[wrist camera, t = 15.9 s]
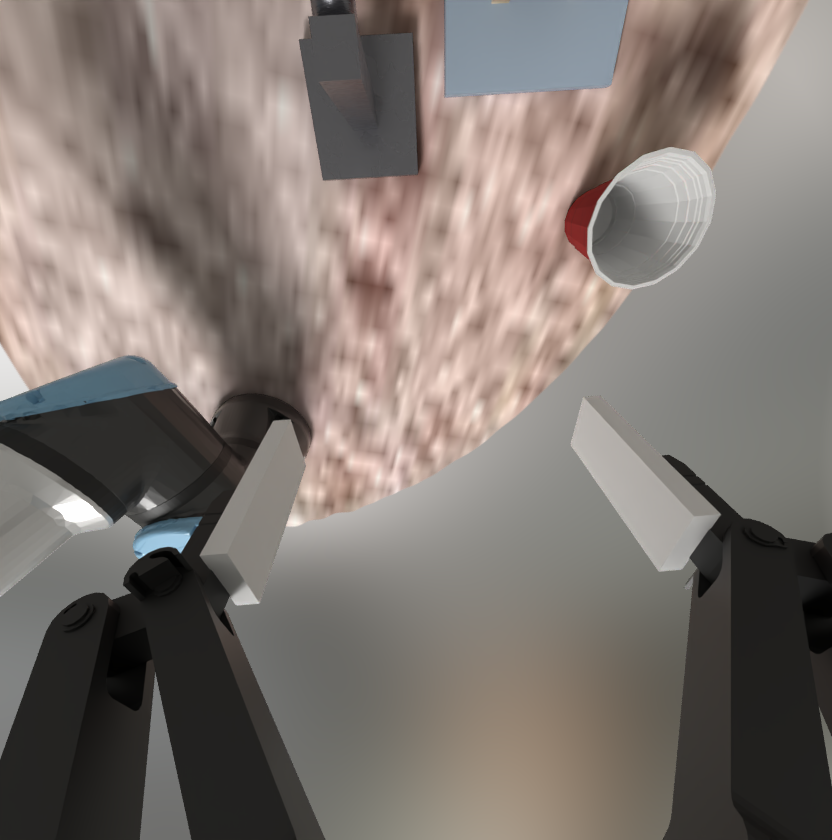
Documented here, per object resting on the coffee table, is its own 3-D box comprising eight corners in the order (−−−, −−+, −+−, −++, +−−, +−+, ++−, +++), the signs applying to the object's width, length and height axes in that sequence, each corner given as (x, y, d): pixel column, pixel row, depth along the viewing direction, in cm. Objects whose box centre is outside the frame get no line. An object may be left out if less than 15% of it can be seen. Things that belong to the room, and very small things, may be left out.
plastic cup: (632, 137, 35) (725, 114, 25) (639, 241, 40) (716, 257, 31) (532, 190, 37) (580, 189, 27) (552, 282, 43) (597, 308, 33)
